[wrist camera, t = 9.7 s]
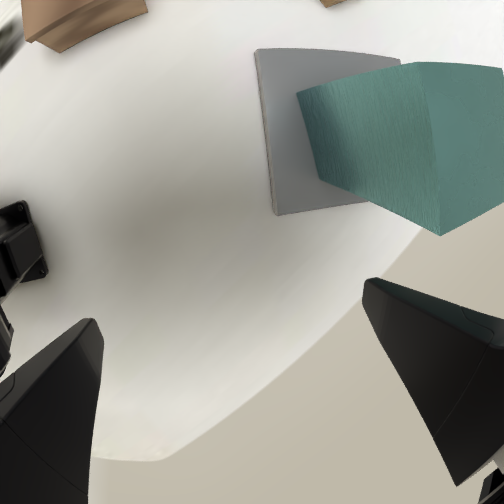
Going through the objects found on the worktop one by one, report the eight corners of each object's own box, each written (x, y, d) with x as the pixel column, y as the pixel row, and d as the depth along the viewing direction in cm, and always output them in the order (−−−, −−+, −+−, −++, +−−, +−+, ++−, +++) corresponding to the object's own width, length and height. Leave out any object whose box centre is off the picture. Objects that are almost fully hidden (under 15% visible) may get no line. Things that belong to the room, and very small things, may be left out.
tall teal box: (319, 179, 20) (440, 236, 10) (295, 92, 18) (417, 62, 7) (388, 158, 21) (513, 196, 10) (371, 80, 18) (502, 68, 7)
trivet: (273, 212, 22) (277, 215, 21) (254, 52, 17) (257, 48, 16) (401, 193, 23) (408, 195, 22) (392, 60, 18) (399, 59, 18)
